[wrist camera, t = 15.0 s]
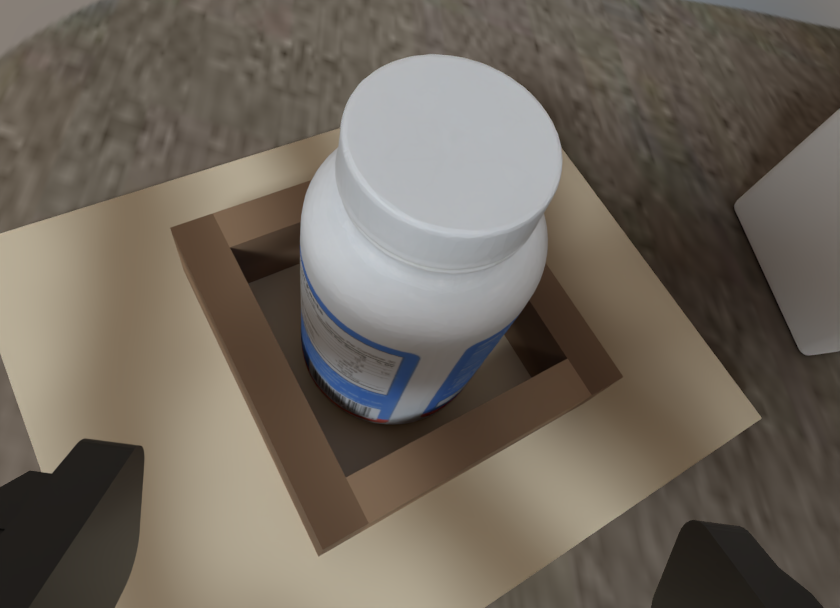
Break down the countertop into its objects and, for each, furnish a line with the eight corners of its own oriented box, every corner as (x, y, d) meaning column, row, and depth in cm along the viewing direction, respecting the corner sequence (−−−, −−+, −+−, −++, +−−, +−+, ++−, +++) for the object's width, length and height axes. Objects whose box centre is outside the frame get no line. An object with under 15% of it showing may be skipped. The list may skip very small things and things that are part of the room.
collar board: (497, 101, 27) (528, 25, 23) (733, 429, 22) (818, 396, 19) (-15, 269, 20) (-83, 196, 16) (176, 805, 15) (140, 868, 11)
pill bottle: (451, 260, 21) (561, 25, 13) (489, 414, 19) (653, 258, 10) (287, 275, 20) (285, 22, 11) (309, 442, 18) (326, 289, 9)
